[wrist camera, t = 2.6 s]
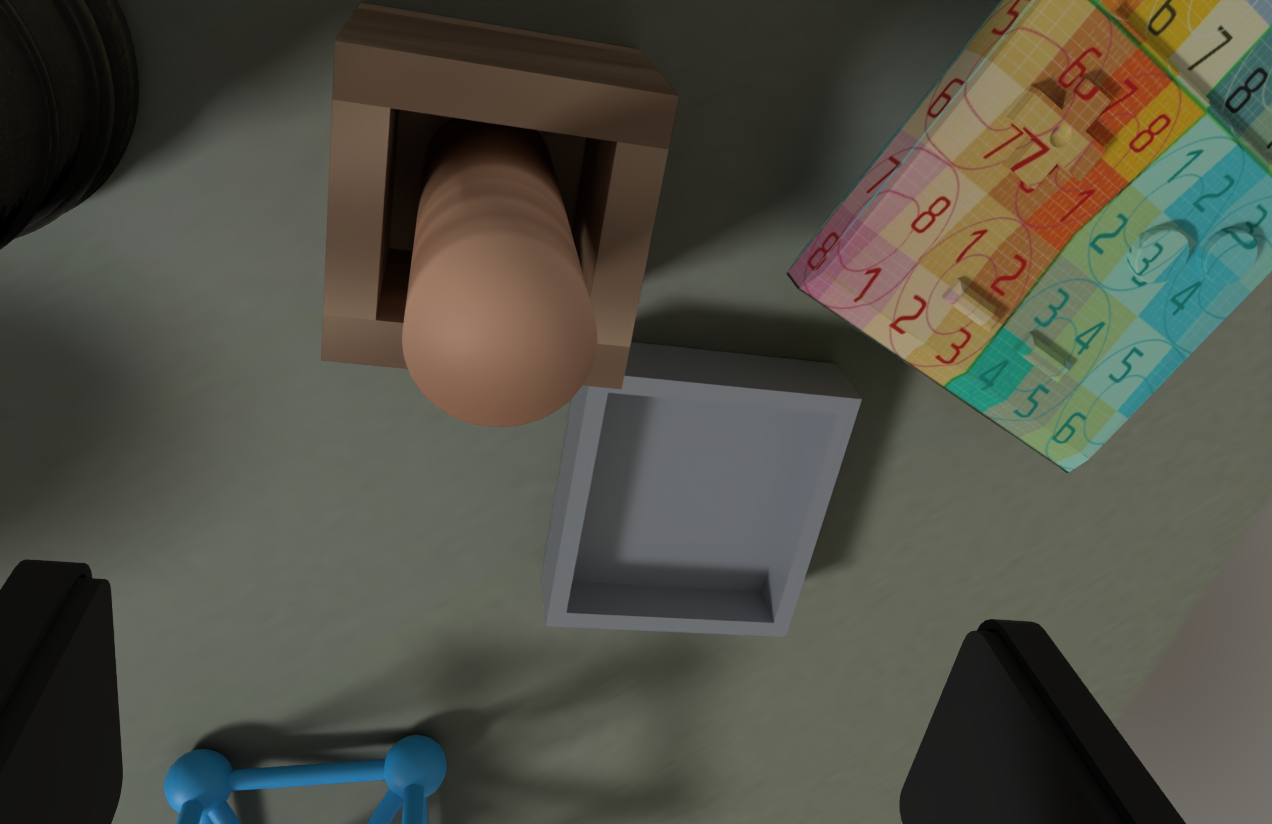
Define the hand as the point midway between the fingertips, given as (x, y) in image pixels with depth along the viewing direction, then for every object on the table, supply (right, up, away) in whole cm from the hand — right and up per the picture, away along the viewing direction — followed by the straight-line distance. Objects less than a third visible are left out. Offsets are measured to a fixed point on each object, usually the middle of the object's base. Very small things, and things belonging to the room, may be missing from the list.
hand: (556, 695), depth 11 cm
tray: (+3, +1, +24) cm, 24 cm away
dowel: (-3, +10, +17) cm, 20 cm away
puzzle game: (+15, +13, +20) cm, 28 cm away
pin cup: (-3, +10, +18) cm, 21 cm away
